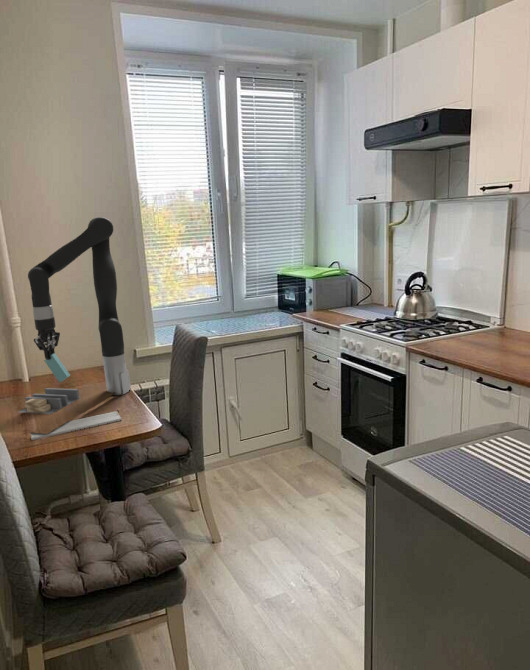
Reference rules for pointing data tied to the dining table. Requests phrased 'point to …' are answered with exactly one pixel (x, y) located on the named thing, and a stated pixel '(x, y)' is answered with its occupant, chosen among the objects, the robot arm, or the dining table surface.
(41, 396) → the rack
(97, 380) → the dining table surface
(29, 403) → the offcut top
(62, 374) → the teal slat
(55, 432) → the baseboard molding
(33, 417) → the dining table surface
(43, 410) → the block
